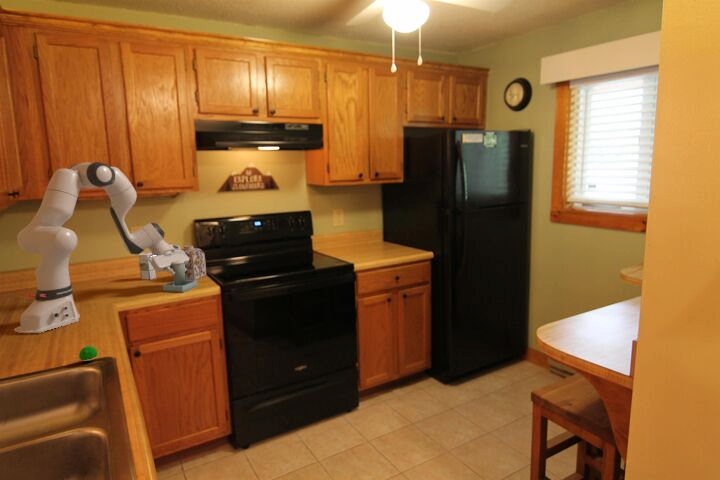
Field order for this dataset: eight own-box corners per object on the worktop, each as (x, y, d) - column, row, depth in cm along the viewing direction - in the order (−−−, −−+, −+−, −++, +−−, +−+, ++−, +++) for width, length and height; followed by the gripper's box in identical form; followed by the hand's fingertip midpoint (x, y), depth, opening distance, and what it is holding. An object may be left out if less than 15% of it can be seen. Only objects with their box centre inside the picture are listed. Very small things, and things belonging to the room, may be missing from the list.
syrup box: (156, 277, 253) (153, 252, 250) (150, 280, 247) (147, 254, 245) (146, 277, 253) (143, 252, 251) (140, 280, 248) (137, 254, 245)
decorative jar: (176, 280, 245) (172, 247, 242) (188, 274, 256) (185, 243, 253) (195, 280, 242) (192, 248, 239) (207, 275, 253) (204, 244, 250)
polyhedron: (82, 359, 145) (80, 345, 144) (100, 356, 146) (98, 343, 146) (78, 365, 140) (76, 351, 139) (96, 363, 142) (94, 348, 141)
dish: (182, 292, 220) (182, 286, 219) (163, 291, 223) (162, 285, 222) (197, 286, 231) (197, 280, 230) (178, 285, 234) (178, 279, 233)
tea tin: (181, 286, 223) (178, 263, 221) (171, 285, 224) (169, 263, 222) (188, 283, 228) (186, 260, 226) (179, 282, 230) (176, 260, 228)
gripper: (149, 252, 217) (166, 273, 214) (181, 245, 235) (197, 264, 233) (143, 261, 219) (160, 282, 217) (175, 253, 238) (191, 272, 235)
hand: (179, 272), depth 225 cm, fingers closed on tea tin, 5 cm apart
